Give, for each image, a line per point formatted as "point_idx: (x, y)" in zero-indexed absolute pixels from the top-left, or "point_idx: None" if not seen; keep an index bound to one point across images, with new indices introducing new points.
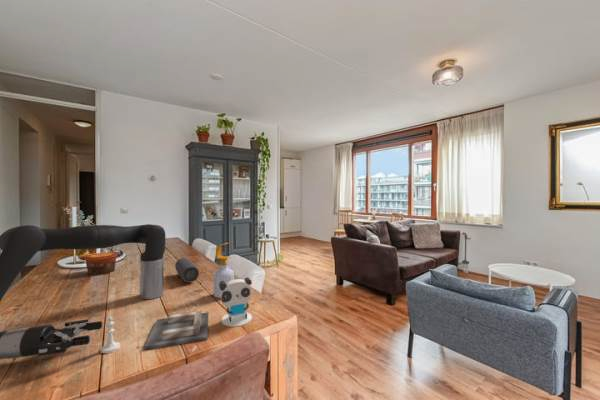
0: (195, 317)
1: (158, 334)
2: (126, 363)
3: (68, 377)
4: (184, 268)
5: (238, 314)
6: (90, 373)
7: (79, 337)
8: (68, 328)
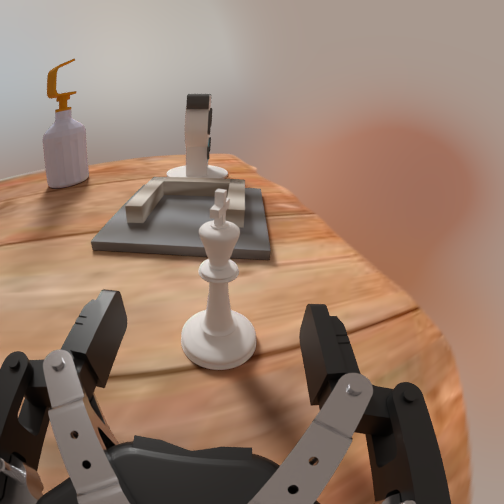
0: (183, 180)
1: None
2: (332, 283)
3: None
4: None
5: (207, 160)
6: (377, 348)
7: (333, 339)
8: (117, 472)
